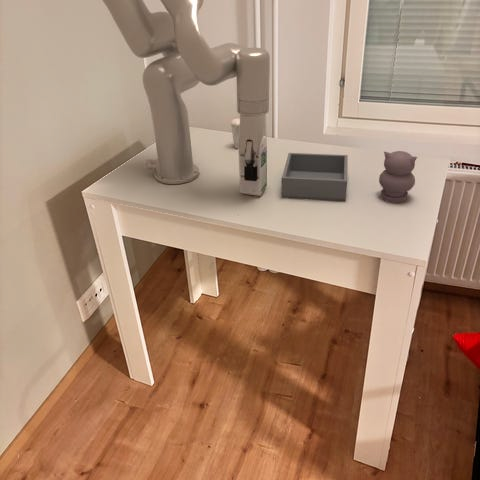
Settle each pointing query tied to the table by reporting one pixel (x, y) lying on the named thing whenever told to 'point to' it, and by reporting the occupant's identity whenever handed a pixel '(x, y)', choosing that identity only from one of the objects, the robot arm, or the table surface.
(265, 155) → the syrup box
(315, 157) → the bin
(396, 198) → the cat figurine
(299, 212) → the table surface
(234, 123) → the milkshake
